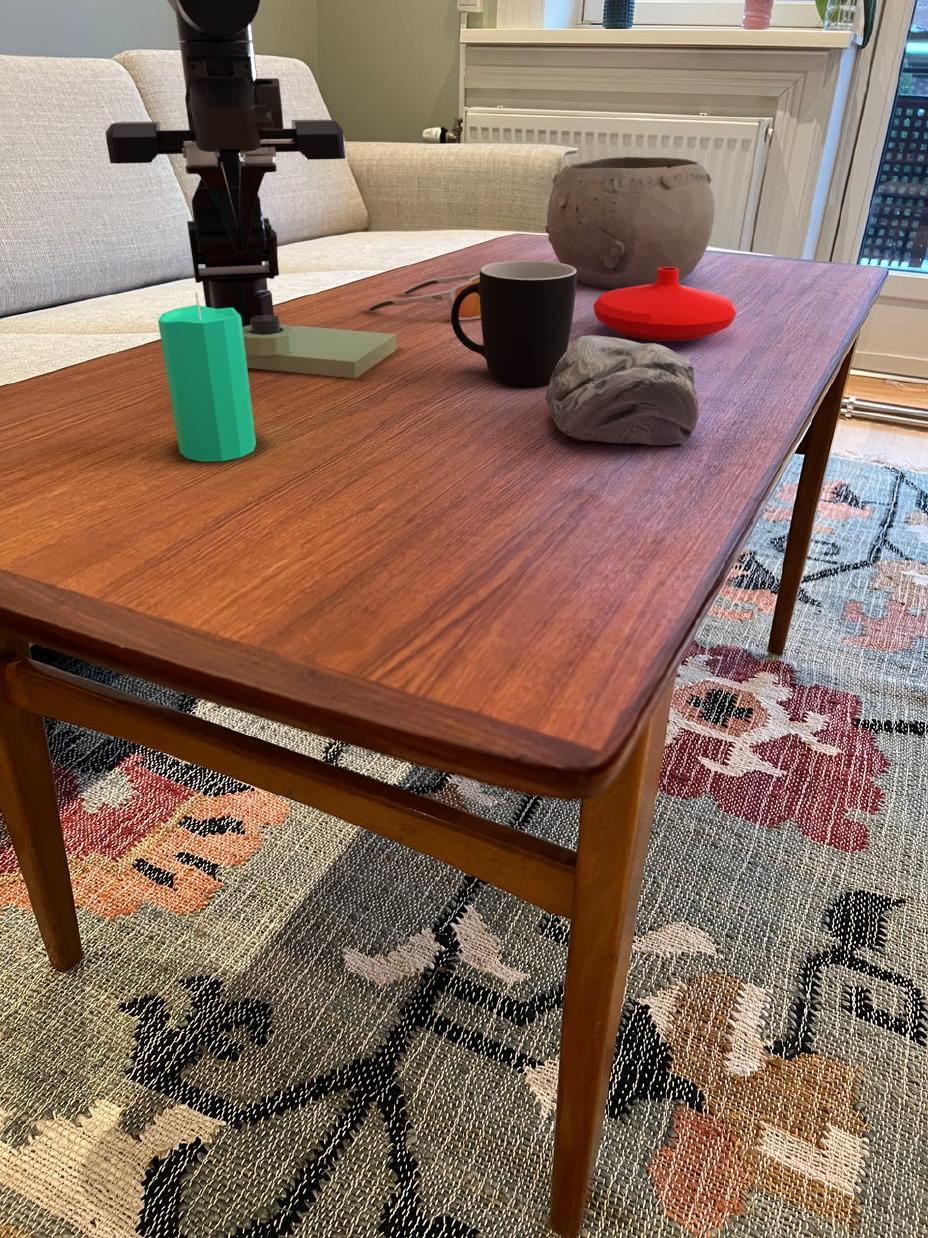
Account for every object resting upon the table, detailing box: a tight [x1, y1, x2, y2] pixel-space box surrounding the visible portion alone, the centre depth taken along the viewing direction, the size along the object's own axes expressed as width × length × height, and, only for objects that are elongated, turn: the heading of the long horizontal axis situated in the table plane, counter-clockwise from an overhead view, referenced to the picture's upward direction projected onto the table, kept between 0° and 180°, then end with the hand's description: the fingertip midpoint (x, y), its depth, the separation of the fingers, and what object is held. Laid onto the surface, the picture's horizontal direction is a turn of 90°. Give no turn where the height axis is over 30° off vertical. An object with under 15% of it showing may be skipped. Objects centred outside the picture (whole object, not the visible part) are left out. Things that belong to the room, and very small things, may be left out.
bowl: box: [544, 156, 716, 289], centre depth 128 cm, size 23×23×15 cm
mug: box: [450, 259, 578, 388], centre depth 88 cm, size 12×9×10 cm
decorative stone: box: [545, 334, 700, 446], centre depth 76 cm, size 15×14×10 cm
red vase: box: [592, 267, 737, 342], centre depth 103 cm, size 16×16×7 cm
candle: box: [157, 291, 257, 463], centre depth 71 cm, size 6×6×12 cm
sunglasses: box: [367, 271, 481, 321], centre depth 115 cm, size 14×15×5 cm
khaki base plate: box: [242, 323, 398, 379], centre depth 95 cm, size 13×12×4 cm
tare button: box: [250, 314, 281, 335], centre depth 92 cm, size 3×3×2 cm
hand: (241, 252), depth 81 cm, fingers closed
